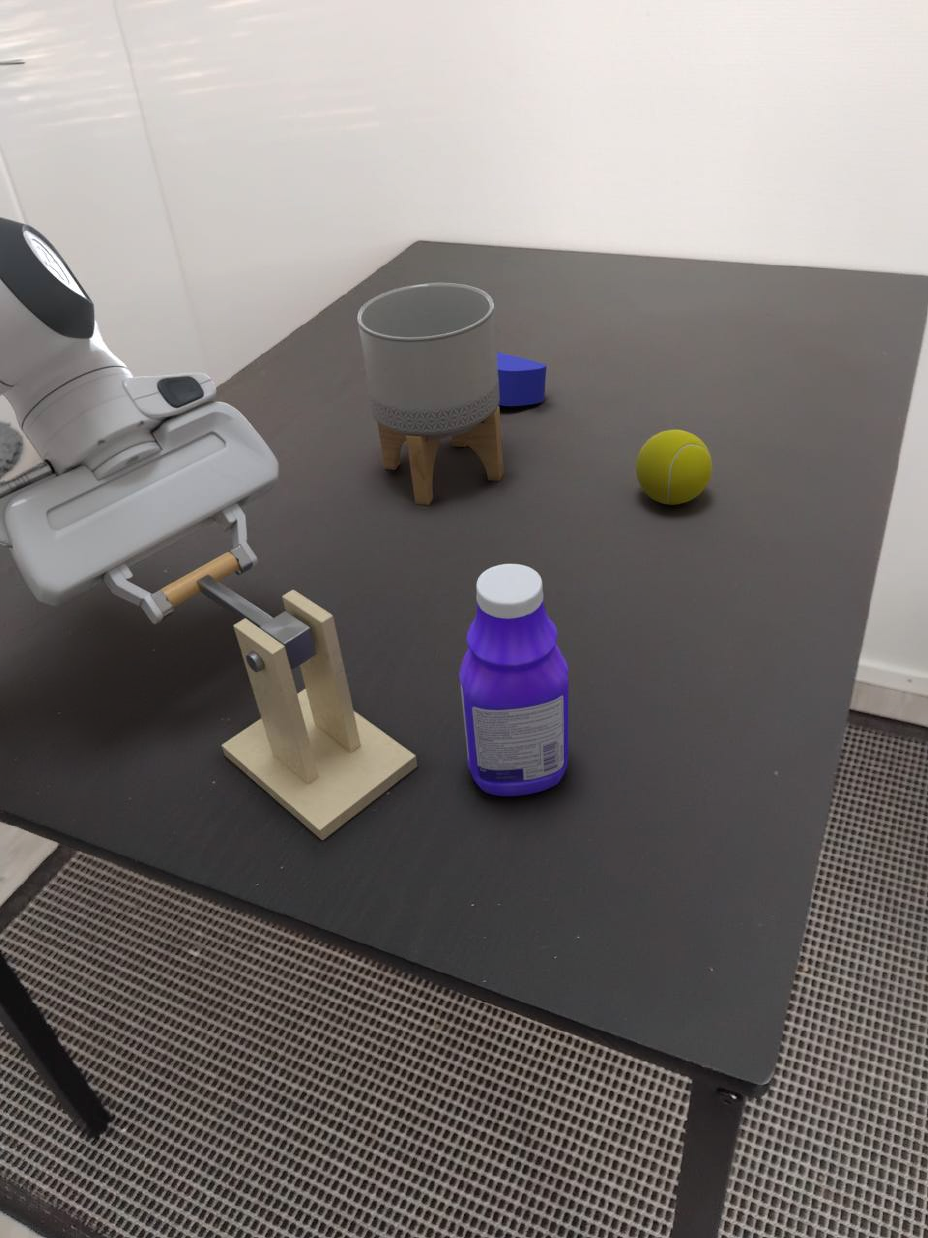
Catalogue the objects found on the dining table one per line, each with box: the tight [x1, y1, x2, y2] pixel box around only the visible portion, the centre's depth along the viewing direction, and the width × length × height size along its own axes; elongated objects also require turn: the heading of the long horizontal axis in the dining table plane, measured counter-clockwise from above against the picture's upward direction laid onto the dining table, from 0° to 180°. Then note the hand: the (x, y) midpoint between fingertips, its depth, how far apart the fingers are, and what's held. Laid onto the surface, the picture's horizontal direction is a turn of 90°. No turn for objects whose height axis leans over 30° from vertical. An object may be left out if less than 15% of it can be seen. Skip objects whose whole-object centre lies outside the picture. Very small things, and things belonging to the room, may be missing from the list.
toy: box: [497, 351, 548, 407], centre depth 114 cm, size 12×6×10 cm
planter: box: [356, 282, 504, 506], centre depth 98 cm, size 13×13×18 cm
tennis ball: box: [635, 429, 713, 506], centre depth 94 cm, size 7×7×7 cm
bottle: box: [458, 563, 570, 797], centre depth 65 cm, size 7×6×17 cm
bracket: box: [221, 589, 418, 841], centre depth 69 cm, size 12×9×14 cm
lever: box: [159, 551, 317, 672], centre depth 69 cm, size 13×6×2 cm, turn 45°
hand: (208, 592), depth 72 cm, fingers closed on lever, 6 cm apart
